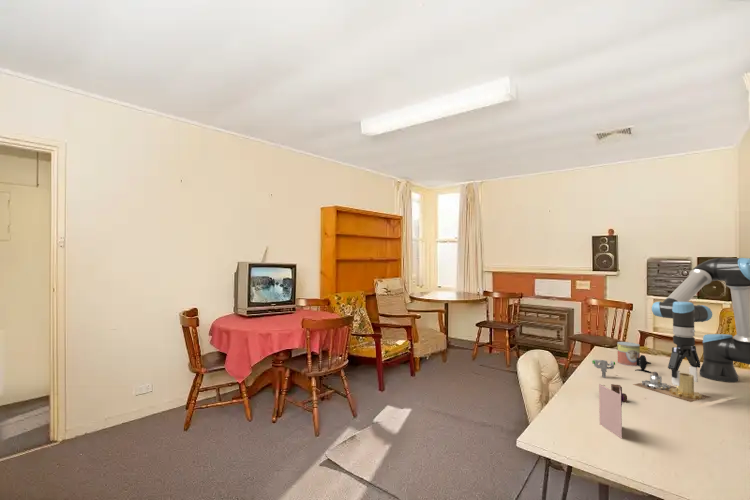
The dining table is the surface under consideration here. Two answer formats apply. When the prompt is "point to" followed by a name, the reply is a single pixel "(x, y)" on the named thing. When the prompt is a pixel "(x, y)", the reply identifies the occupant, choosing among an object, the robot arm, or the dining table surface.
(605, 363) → the mechanical component
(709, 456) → the dining table surface
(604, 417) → the greeting card
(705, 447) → the dining table surface
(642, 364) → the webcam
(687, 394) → the brass gear
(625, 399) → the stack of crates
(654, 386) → the steel gear
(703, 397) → the gear board
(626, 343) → the canned food
